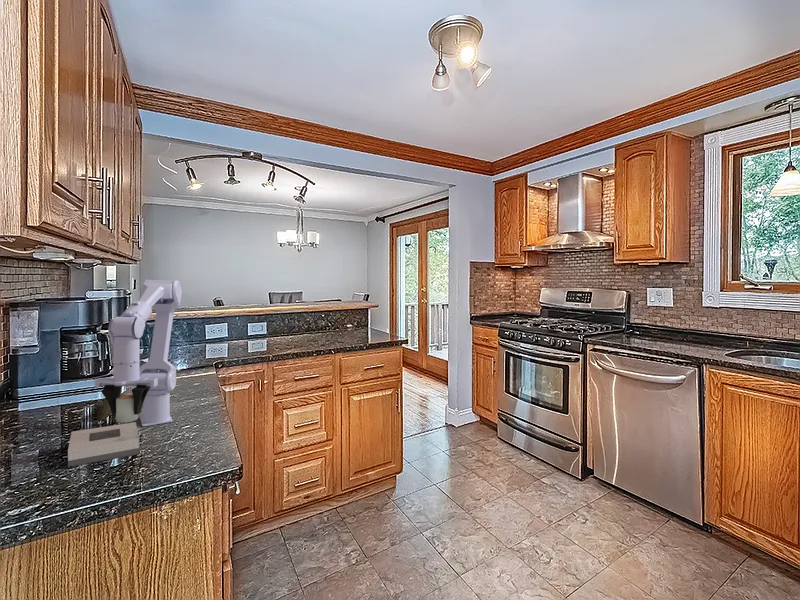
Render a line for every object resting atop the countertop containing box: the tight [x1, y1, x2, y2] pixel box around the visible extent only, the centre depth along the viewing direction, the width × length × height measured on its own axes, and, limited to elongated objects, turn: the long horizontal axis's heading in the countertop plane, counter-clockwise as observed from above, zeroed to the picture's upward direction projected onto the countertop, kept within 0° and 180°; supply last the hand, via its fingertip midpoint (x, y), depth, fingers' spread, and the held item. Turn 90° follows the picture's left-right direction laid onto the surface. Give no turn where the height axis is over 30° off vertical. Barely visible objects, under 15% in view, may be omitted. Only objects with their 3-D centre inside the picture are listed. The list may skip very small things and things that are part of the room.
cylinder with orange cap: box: [115, 392, 139, 424], centre depth 108 cm, size 5×5×7 cm
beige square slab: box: [67, 421, 140, 468], centre depth 105 cm, size 14×14×4 cm
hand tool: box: [96, 398, 111, 421], centre depth 135 cm, size 19×4×5 cm, turn 22°
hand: (126, 413), depth 108 cm, fingers closed on cylinder with orange cap, 5 cm apart
